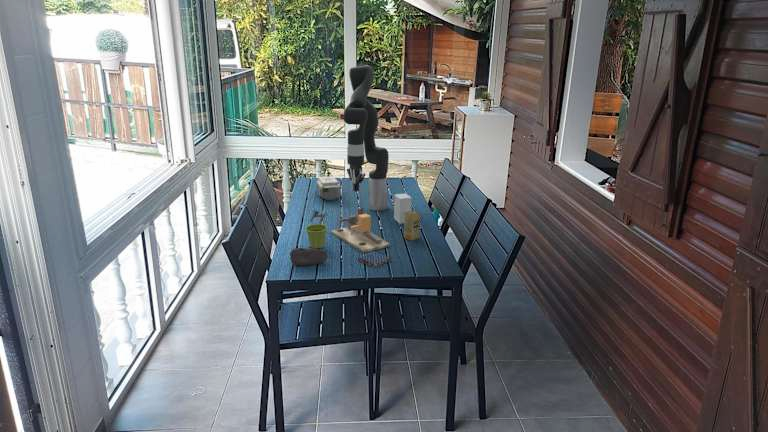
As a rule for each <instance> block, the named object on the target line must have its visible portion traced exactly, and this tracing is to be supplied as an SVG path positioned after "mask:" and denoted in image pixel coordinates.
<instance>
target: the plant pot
mask: <svg viewBox="0 0 768 432" xmlns="http://www.w3.org/2000/svg"><path fill="white" fill-rule="evenodd" d="M327 230H328V226H327V225H326V224H323V223H322V224H319V223H316V224H315V223H314V224H309V225H308V226H306V227H305V231H306V234H307V236H308V242H309V243H308V244H309V248H313V249H322V248H324V247H325V243H326V241H325V240H326V233H327Z"/></svg>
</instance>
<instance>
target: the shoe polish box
mask: <svg viewBox="0 0 768 432" xmlns="http://www.w3.org/2000/svg"><path fill="white" fill-rule="evenodd" d="M420 220H421V213H420V212H418V211H414V210H411V211H409V212H406V213H404V223H403V225H404V226H403V227H404V228H403V238H404V239H407V240H409V241H414V240H417V239H419V238H420V226H421V224H420V222H421V221H420Z"/></svg>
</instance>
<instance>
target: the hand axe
mask: <svg viewBox="0 0 768 432" xmlns="http://www.w3.org/2000/svg"><path fill="white" fill-rule="evenodd" d="M363 210H364V208H359V209H358V210H357V212H358V213H357V215H356V225H358V215H362V214H363ZM346 227H348V224H347V226H346Z"/></svg>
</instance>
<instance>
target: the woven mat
mask: <svg viewBox="0 0 768 432" xmlns="http://www.w3.org/2000/svg"><path fill="white" fill-rule="evenodd" d="M363 254H364V255H360V256H358V257H357V261H359V262H361V263H363V264H365V265H367V266H369V267H372V268H376V267H379V266H381V265H383V264H385V263H389V262H391V261H392V258H391V257H390V256H389V255H386V254H385V253H382V252H379V251H377V250H373V251H370V252H367V253H366V254H365V253H363Z"/></svg>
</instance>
